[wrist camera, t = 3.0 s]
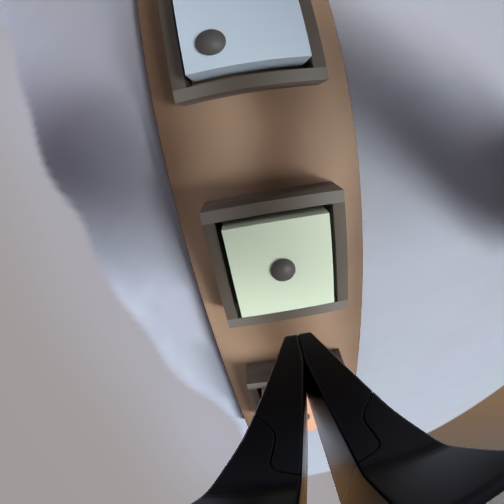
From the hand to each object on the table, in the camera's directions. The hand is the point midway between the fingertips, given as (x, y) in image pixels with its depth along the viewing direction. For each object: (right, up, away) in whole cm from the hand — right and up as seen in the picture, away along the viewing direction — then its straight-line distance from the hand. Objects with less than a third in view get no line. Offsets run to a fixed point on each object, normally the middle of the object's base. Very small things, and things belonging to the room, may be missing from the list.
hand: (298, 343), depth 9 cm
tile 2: (-2, +13, +1) cm, 13 cm away
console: (0, +3, +8) cm, 9 cm away
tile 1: (0, +3, +7) cm, 8 cm away
